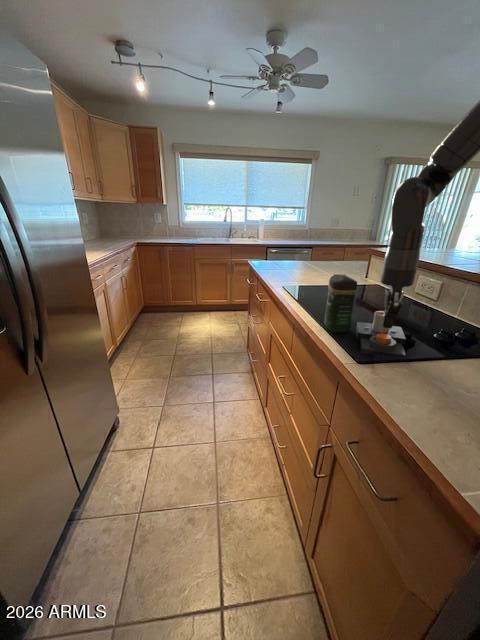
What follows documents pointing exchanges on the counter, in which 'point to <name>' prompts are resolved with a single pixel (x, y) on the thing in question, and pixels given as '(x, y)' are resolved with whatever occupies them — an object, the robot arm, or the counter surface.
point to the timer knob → (379, 322)
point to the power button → (383, 338)
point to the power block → (381, 347)
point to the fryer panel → (366, 332)
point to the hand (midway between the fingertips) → (386, 326)
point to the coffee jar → (340, 303)
